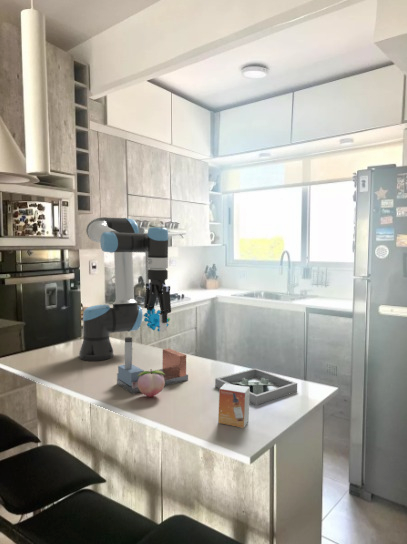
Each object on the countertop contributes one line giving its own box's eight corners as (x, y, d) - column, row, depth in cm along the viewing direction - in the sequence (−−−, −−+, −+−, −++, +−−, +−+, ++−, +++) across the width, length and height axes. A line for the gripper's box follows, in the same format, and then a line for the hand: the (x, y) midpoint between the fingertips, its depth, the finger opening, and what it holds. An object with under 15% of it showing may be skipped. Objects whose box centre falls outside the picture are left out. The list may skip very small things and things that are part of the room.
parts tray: (215, 386, 146) (215, 378, 145) (254, 375, 159) (255, 368, 158) (256, 405, 129) (256, 396, 129) (297, 391, 142) (297, 383, 142)
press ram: (118, 378, 145) (118, 335, 144) (130, 376, 149) (130, 334, 147) (131, 386, 138) (131, 341, 137) (143, 383, 141) (144, 339, 140)
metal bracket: (279, 379, 139) (237, 379, 137) (280, 396, 137) (237, 397, 136) (268, 377, 153) (230, 377, 151) (269, 392, 151) (231, 393, 150)
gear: (148, 329, 142) (142, 306, 148) (142, 338, 145) (136, 316, 151) (174, 329, 148) (167, 308, 154) (167, 338, 152) (161, 317, 157)
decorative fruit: (160, 390, 140) (161, 363, 140) (166, 399, 133) (167, 370, 132) (134, 393, 137) (134, 365, 136) (139, 402, 129) (139, 373, 129)
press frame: (116, 383, 146) (117, 357, 146) (170, 371, 161) (170, 347, 161) (132, 393, 137) (132, 365, 136) (188, 380, 152) (188, 354, 151)
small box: (217, 423, 115) (218, 388, 115) (223, 416, 121) (224, 382, 120) (244, 428, 113) (245, 392, 112) (249, 420, 118) (250, 386, 117)
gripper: (135, 267, 153) (135, 325, 154) (164, 271, 137) (163, 335, 138) (152, 267, 157) (151, 323, 159) (181, 270, 141) (180, 333, 143)
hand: (157, 329), depth 149 cm, fingers closed on gear, 8 cm apart
